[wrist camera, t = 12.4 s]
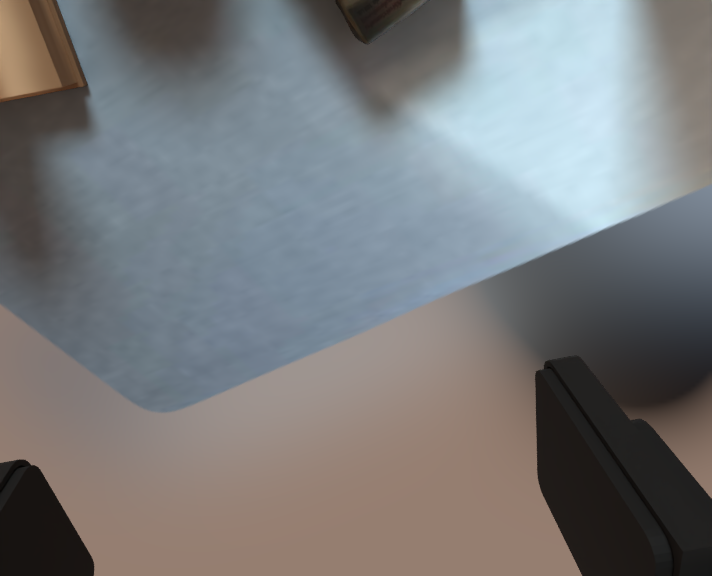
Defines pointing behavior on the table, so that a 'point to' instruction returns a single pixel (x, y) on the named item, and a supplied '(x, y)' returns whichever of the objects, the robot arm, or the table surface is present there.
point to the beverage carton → (375, 15)
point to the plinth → (35, 50)
